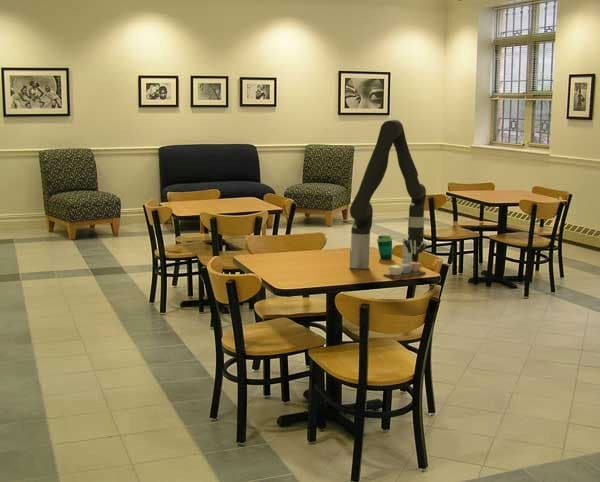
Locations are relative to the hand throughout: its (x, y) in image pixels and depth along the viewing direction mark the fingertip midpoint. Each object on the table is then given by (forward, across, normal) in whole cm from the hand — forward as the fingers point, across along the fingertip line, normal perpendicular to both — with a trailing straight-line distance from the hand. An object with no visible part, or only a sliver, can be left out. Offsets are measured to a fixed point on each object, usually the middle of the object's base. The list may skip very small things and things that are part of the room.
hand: (414, 261), depth 385 cm
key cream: (+4, 0, +13) cm, 14 cm away
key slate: (+5, 0, +7) cm, 8 cm away
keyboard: (+6, 0, +7) cm, 9 cm away
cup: (+6, +34, -14) cm, 37 cm away
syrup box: (+6, +13, -11) cm, 18 cm away
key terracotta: (+5, 0, 0) cm, 5 cm away
